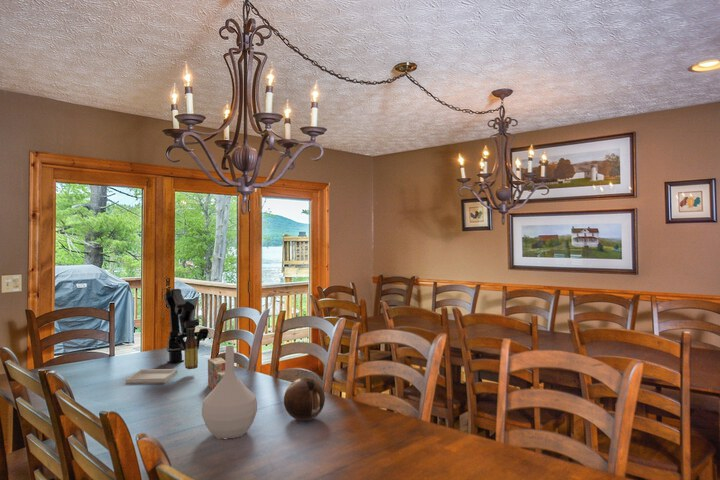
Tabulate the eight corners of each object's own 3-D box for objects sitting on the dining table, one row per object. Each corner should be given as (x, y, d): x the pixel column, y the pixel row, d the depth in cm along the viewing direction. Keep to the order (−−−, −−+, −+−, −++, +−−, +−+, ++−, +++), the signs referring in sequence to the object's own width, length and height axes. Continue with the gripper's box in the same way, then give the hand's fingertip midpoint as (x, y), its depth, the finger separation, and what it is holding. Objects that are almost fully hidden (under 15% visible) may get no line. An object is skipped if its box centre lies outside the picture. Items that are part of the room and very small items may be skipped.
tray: (141, 373, 249) (141, 369, 249) (177, 373, 250) (177, 368, 250) (125, 383, 231) (125, 379, 231) (165, 383, 232) (165, 378, 232)
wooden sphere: (280, 415, 187) (280, 375, 187) (318, 410, 192) (318, 371, 192) (288, 429, 173) (288, 386, 173) (329, 423, 178) (329, 381, 178)
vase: (235, 420, 182) (235, 339, 182) (268, 432, 170) (268, 345, 170) (190, 435, 168) (190, 347, 168) (223, 449, 156) (222, 354, 156)
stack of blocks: (235, 395, 213) (234, 366, 214) (220, 397, 210) (220, 368, 210) (221, 383, 232) (221, 356, 232) (207, 385, 229) (207, 358, 229)
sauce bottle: (194, 365, 250) (194, 326, 250) (200, 368, 246) (200, 328, 246) (181, 368, 245) (182, 328, 246) (187, 370, 241) (188, 329, 241)
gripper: (169, 315, 244) (174, 341, 235) (207, 312, 254) (213, 337, 245) (166, 329, 251) (170, 355, 241) (203, 325, 261) (209, 350, 251)
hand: (191, 349), depth 245 cm, fingers closed on sauce bottle, 6 cm apart
